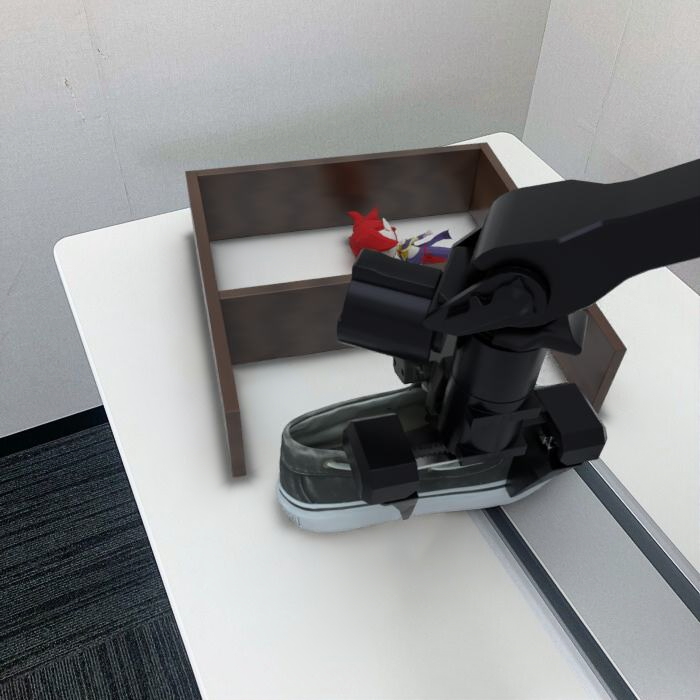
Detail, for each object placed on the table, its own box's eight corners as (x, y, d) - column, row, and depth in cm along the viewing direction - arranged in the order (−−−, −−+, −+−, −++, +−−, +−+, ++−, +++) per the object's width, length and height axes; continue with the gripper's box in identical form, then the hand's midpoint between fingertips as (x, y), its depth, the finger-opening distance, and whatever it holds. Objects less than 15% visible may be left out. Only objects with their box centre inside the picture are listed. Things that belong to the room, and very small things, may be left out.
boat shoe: (609, 472, 67) (639, 390, 60) (305, 579, 59) (300, 499, 52) (544, 395, 74) (565, 315, 67) (265, 482, 66) (256, 400, 59)
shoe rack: (474, 204, 96) (487, 141, 89) (599, 413, 73) (627, 349, 66) (193, 236, 89) (185, 170, 83) (232, 477, 66) (224, 412, 60)
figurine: (454, 303, 82) (325, 270, 85) (469, 271, 88) (349, 241, 92) (465, 250, 78) (330, 217, 81) (480, 221, 85) (355, 191, 88)
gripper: (565, 277, 58) (521, 410, 69) (327, 310, 53) (321, 446, 64) (641, 382, 50) (578, 512, 61) (371, 430, 46) (356, 561, 57)
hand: (457, 503), depth 61 cm, fingers open, 9 cm apart
